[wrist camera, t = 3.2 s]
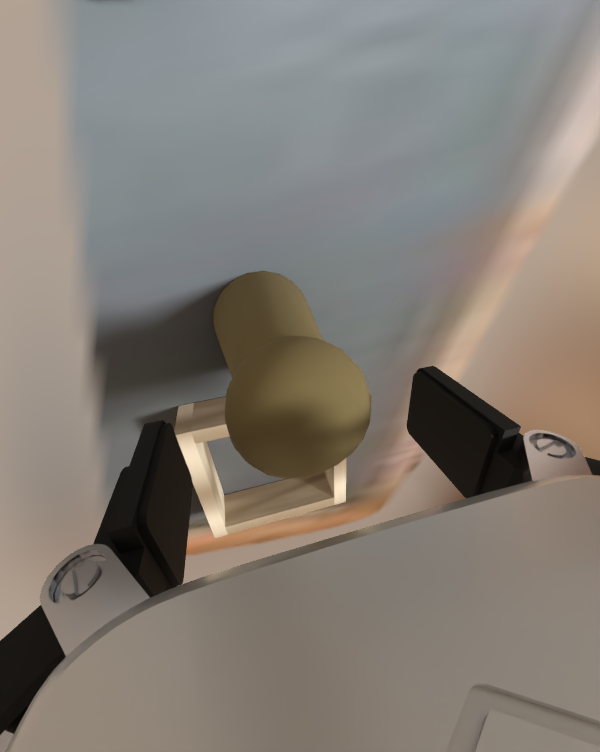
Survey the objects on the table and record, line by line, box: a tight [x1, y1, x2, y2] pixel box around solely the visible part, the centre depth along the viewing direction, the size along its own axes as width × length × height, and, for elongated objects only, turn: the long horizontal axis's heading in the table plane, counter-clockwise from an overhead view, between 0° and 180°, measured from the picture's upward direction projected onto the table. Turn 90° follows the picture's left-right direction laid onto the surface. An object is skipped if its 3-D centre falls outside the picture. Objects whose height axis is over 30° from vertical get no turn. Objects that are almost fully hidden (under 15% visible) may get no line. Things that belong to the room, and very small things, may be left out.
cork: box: [213, 271, 371, 479], centre depth 14 cm, size 6×6×11 cm
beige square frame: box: [174, 397, 346, 538], centre depth 22 cm, size 11×11×3 cm
